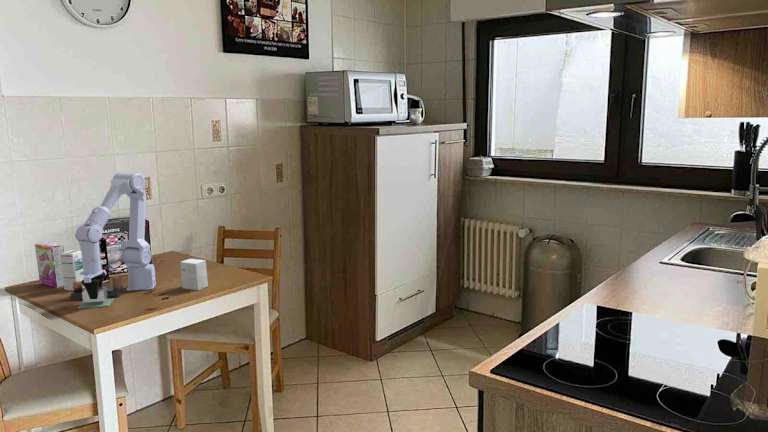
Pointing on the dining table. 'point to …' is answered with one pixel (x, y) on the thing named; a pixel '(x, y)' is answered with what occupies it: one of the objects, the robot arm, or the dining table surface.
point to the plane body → (111, 290)
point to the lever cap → (101, 296)
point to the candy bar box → (49, 264)
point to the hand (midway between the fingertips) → (95, 296)
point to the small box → (194, 274)
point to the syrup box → (71, 268)
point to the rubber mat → (95, 304)
